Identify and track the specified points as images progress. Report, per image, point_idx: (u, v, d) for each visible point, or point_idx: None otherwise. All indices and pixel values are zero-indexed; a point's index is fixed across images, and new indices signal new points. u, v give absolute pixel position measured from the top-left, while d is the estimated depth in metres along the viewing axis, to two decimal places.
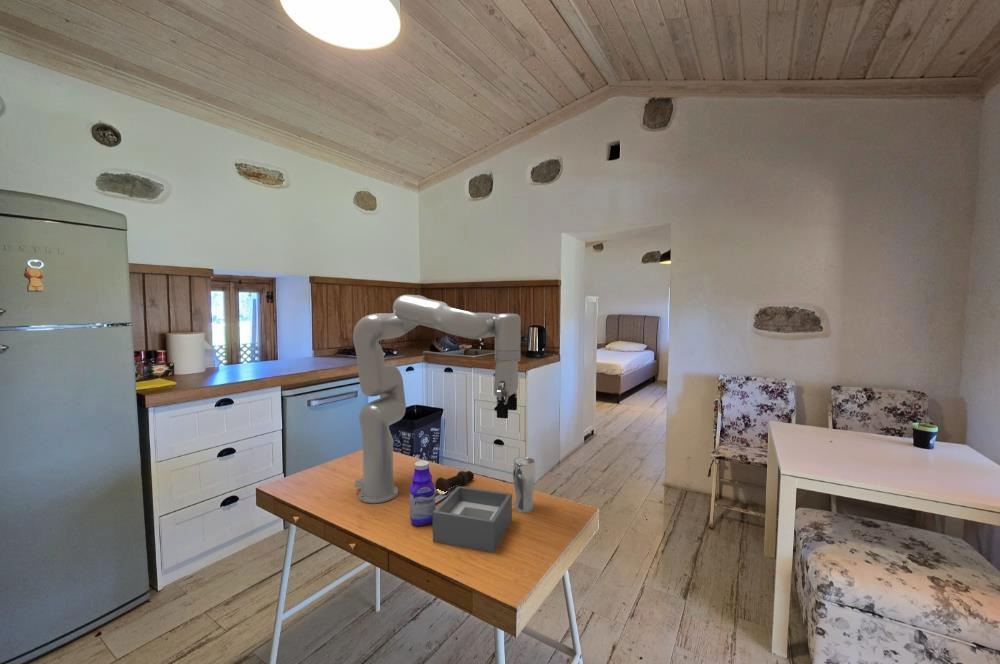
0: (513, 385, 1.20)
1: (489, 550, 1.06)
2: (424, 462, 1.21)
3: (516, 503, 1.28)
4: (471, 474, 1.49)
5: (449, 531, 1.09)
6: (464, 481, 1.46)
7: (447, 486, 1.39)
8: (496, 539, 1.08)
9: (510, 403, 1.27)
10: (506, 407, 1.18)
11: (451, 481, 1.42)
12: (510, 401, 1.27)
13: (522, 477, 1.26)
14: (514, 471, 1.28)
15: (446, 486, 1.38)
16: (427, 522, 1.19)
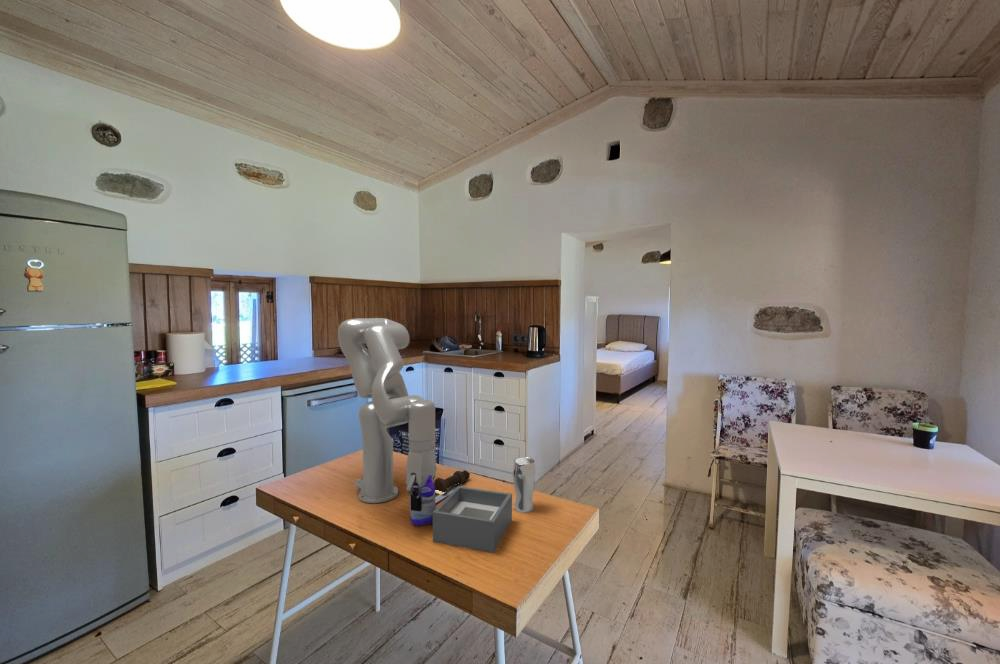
0: (426, 475, 1.18)
1: (489, 550, 1.06)
2: None
3: (516, 503, 1.28)
4: (467, 473, 1.50)
5: (449, 531, 1.09)
6: (461, 481, 1.46)
7: (446, 486, 1.39)
8: (496, 539, 1.08)
9: None
10: (419, 500, 1.17)
11: (449, 481, 1.42)
12: None
13: (522, 477, 1.26)
14: (514, 471, 1.28)
15: (445, 486, 1.38)
16: (427, 522, 1.19)
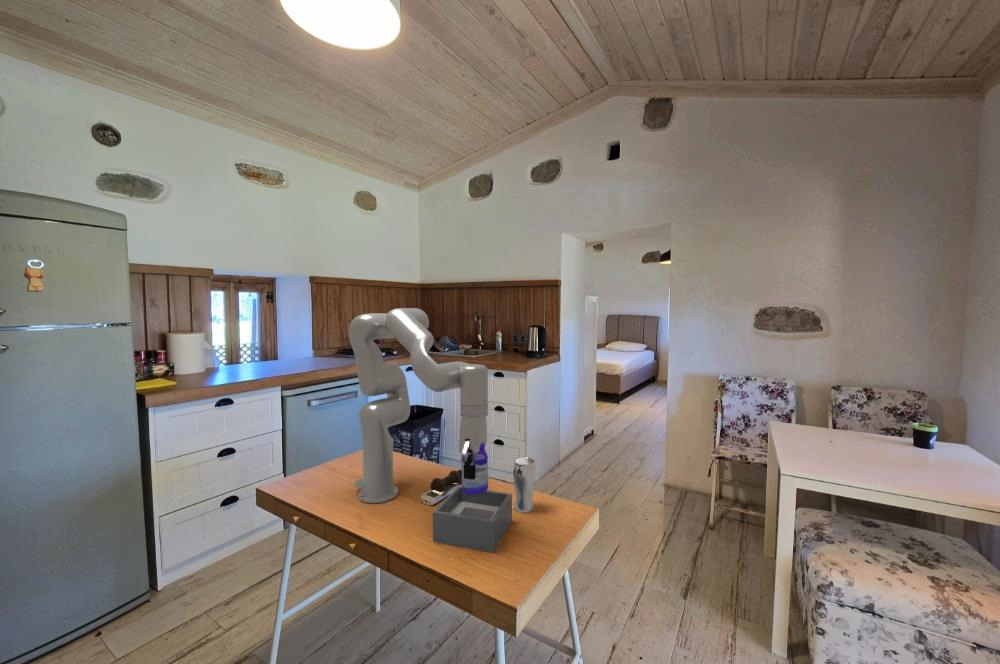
0: (480, 442, 1.13)
1: (489, 550, 1.06)
2: None
3: (516, 503, 1.28)
4: None
5: (449, 531, 1.09)
6: (457, 480, 1.46)
7: (444, 486, 1.38)
8: (496, 539, 1.08)
9: None
10: (473, 468, 1.11)
11: (446, 481, 1.42)
12: None
13: (522, 477, 1.26)
14: (514, 471, 1.28)
15: (443, 486, 1.38)
16: (481, 491, 1.14)
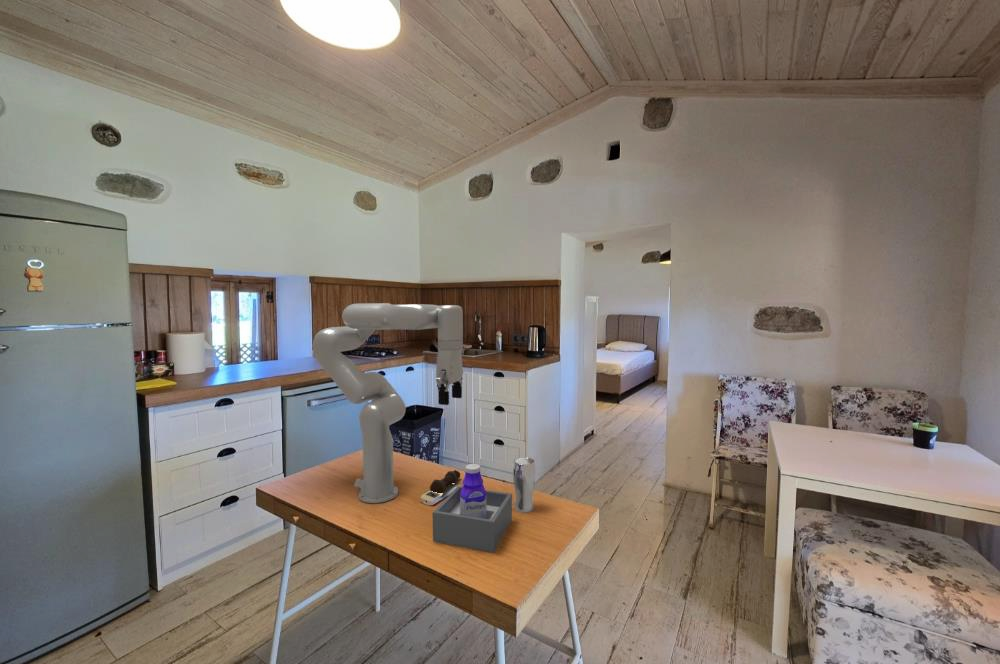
0: (455, 373, 1.26)
1: (489, 550, 1.06)
2: (475, 465, 1.16)
3: (516, 503, 1.28)
4: (458, 473, 1.50)
5: (449, 531, 1.09)
6: (454, 480, 1.46)
7: (445, 487, 1.38)
8: (496, 539, 1.08)
9: (455, 391, 1.33)
10: (447, 394, 1.23)
11: (445, 482, 1.41)
12: (455, 389, 1.33)
13: (522, 477, 1.26)
14: (514, 471, 1.28)
15: (444, 487, 1.37)
16: None
